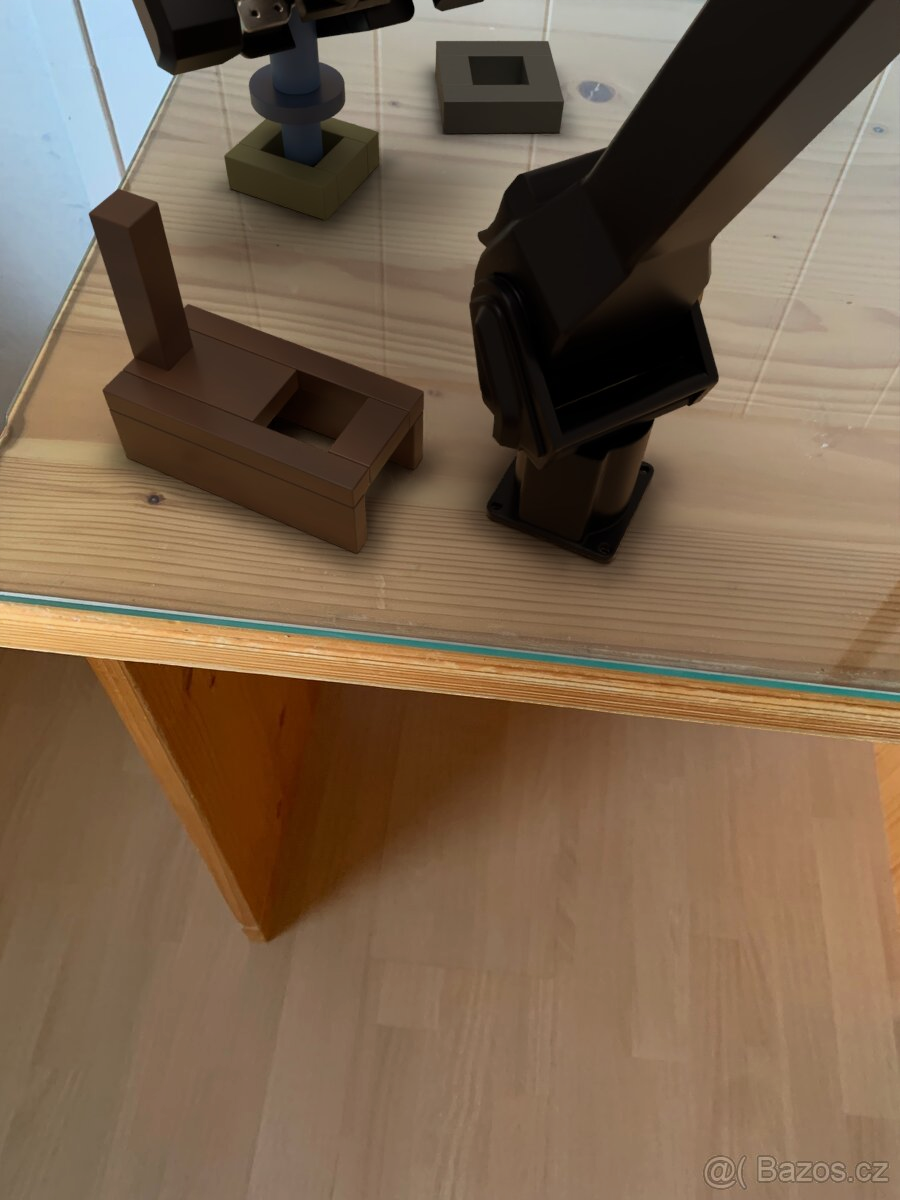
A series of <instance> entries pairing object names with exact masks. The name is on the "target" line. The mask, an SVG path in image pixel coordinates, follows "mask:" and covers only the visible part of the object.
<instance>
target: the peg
mask: <svg viewBox="0 0 900 1200" xmlns="http://www.w3.org/2000/svg"><path fill="white" fill-rule="evenodd" d="M288 25H289V28H290V30H291V33H292V36H293V39H294V42H295V45H296V48H295V49H292V50H288V51H284V52H279V53H275V54H271V55H268V56H269V57H268V58H269V63H268V64H266V65H264V66H261V67H260V68H258V69H257V70H256V71H255V72H254V73H253V74H252V75H251V76H250V77H249V81H248V90H249V95H250V96H249V97H250V103H251V106H252V108H253V111H255V112H256V113H257V114H258V115H259V116H261V117H262V118H263V119H268V120H270V121H273V122H276V123H281V129H282V137H283V146H284V154H285V158H286V159H288V160H291V161H295V162H298V163H301V164H304V165H307V166H310V167H311V166H313V165H314V166H315V165H317V164H318V163H319V162H320V160H321V159H322V158H323V146H322V134H321V121H325V120H327V119H329V118H331V117H332V118H334V117H335V116H336V115H338V114H339V113H340V112H341V111H342V109H343V108H344V106H345V103H346V84H345V79H344V76H343V75H342V74H341V72H339V70H338V69H336V68H334V66H331V65H329V64H327V63H324V62H321V61H320V55H319V45H318V44H319V42H318V39H317V29H316V20H313V21H309V22H305V23H302V22H301V19H300V16H299V13H298V10H297V7H293V8H292V12H291V16H290V19H289V21H288Z"/></svg>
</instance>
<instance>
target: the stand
mask: <svg viewBox="0 0 900 1200" xmlns="http://www.w3.org/2000/svg"><path fill="white" fill-rule="evenodd" d="M88 218H89V220H90V224H91V226H92V229H93V233H94V236H95V239H96V242H97V245H98V249H99V251H100V256H101V258H102V262H103V264H104V267H105V271H106V274H107V278H108V281H109V283H110V287H111V289H112V292H113V296H114V300H115V302H116V305H117V307H118V312H119V314H120V318H121V321H122V325H123V328H124V331H125V334H126V337H127V340H128V343H129V346H130V350H131V353H132V356H133V358H132V359H131V360H130V361H129V362H128V363H127V364H126V365H125V366H124V367H123V368H122V370H120V371H119V372H118V373H117V374H116V375H115V376H114V377H112V379H111V380H110V381H109V382H108V383H107V384H106V385H105V386H104V387H103V388H102V395H103V397H104V399H105V402H106V406H107V407H108V410H109V413H110V416H111V419H112V421H113V424H114V427H115V429H116V432H117V435H118V437H119V440H120V443H121V446H122V449H123V451H124V454H125V456H126V458H128V459H131V460H133V461H135V462H138V463H139V464H143V465H145V466H147V467H149V468H152V469H154V470H157V471H159V472H161V473H164V474H167V475H168V476H171V477H174V478H176V479H178V480H180V481H182V482H186V483H188V484H190V485H192V486H195V487H197V488H200V489H202V490H204V491H206V492H209V493H212V494H213V495H216V496H218V497H221V498H224V499H225V500H228V501H231V502H233V503H235V504H238V505H240V506H243V507H245V508H248V509H250V510H252V511H255V512H256V513H259V514H261V515H264V516H266V517H268V518H271V519H274V520H276V521H278V522H280V523H283V524H285V525H288V526H290V527H293V528H295V529H297V530H300V531H302V532H304V533H307V534H309V535H312V536H314V537H317V538H319V539H321V540H323V541H326V542H329V543H330V544H333V545H336V546H338V547H340V548H343V549H345V550H347V551H350V552H353V553H355V554H358V553H359V552H360V550H362V547H363V546H364V544H365V543H366V542H367V540H368V531H367V530H368V529H367V515H366V514H367V513H366V512H367V511H366V499H365V498H366V497H365V493H366V491H367V490H368V489H369V487H370V485H371V484H372V483H373V481H374V480H375V479H376V478H377V476H378V475H379V473H380V471H381V470H382V469H383V467H385V464H386V463H387V461H390V462H393V463H396V464H397V465H400V466H403V467H406V468H408V469H411V470H415V469H416V467H418V465H419V463H420V462H421V460H422V459H423V456H424V455H423V454H424V410H425V391H424V390H422V389H420V388H417V387H414V386H411V385H409V384H406V383H404V382H400V381H398V380H396V379H393V378H389V377H387V376H384V375H382V374H379V373H377V372H374V371H372V370H368V369H365V368H363V367H360V366H358V365H354V364H352V363H349V362H346V361H344V360H341V359H338V358H336V357H333V356H330V355H328V354H325V353H322V352H321V351H320V352H319V351H318V350H317V351H316V350H314V349H311V348H309V347H307V346H304V345H300V344H298V343H295V342H292V341H289V340H287V339H285V338H281V337H279V336H276V335H273V334H271V333H268V332H266V331H263V330H260V329H257V328H255V327H252V326H249V325H246V324H244V323H241V322H239V321H236V320H233V319H230V318H228V317H225V316H222V315H219V314H216V313H214V312H211V311H209V310H206V309H203V308H201V307H198V306H195V305H192V304H190V303H187V304H186V305H185V306H184V303H183V298H182V295H181V291H180V287H179V282H178V279H177V274H176V271H175V267H174V263H173V257H172V253H171V250H170V246H169V242H168V238H167V235H166V234H167V233H166V229H165V226H164V222H163V217H162V213H161V209H160V205H159V203H158V202H157V201H156V200H153V199H150V198H148V197H145V196H141V195H138V194H136V193H133V192H129V191H127V190H124V189H121V188H117V189H116V190H115V191H113V192H112V193H111V194H109V195H108V196H107V197H106V198H105V199H104V200H102V201H101V202H100V203H99V204H97V205H96V206H95V207H94V208H93V209H92V210H91V211H89V212H88ZM275 417H278V418H281V419H283V420H285V421H288V422H291V423H293V424H295V425H298V426H301V427H303V428H305V429H309V430H311V431H314V432H316V433H318V434H321V435H324V436H326V437H329V438H331V439H334V440H335V441H334V442H333V444H332V445H331V446H330V447H329V449H328V450H324V449H323V448H319V447H317V446H314V445H312V444H309V443H307V442H304V441H301V440H299V439H296V438H294V437H291V436H289V435H286V434H283V433H281V432H278V431H276V430H274V429H271V428H269V427H268V426H269V425H270V423H271V422H272V421H273V420H274V418H275Z"/></svg>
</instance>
